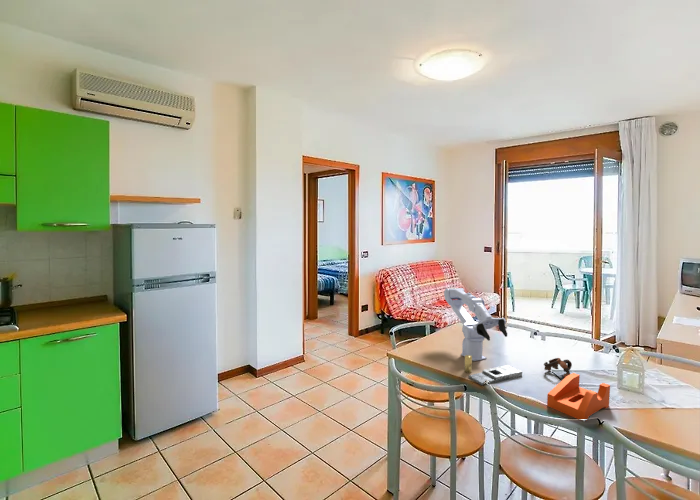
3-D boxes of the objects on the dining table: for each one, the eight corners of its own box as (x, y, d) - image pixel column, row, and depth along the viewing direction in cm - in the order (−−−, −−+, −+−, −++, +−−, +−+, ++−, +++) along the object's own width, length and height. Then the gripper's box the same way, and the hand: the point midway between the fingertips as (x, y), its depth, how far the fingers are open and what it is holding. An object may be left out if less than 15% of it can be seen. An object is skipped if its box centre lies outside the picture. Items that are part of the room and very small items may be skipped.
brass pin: (463, 370, 167) (463, 355, 166) (468, 369, 168) (468, 354, 168) (467, 373, 164) (468, 358, 164) (473, 372, 165) (473, 356, 165)
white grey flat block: (481, 385, 153) (481, 380, 153) (468, 377, 160) (468, 373, 160) (522, 376, 161) (522, 371, 161) (507, 369, 169) (507, 364, 168)
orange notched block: (572, 393, 146) (573, 372, 145) (608, 407, 136) (610, 385, 135) (546, 406, 136) (547, 384, 135) (584, 422, 126) (585, 398, 125)
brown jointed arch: (562, 383, 155) (552, 364, 157) (546, 384, 164) (536, 366, 166) (582, 371, 160) (571, 352, 162) (565, 372, 168) (555, 355, 170)
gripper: (468, 313, 170) (481, 333, 158) (499, 306, 170) (514, 326, 159) (468, 324, 174) (481, 345, 162) (499, 318, 174) (513, 338, 162)
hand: (497, 337), depth 161 cm, fingers open, 7 cm apart
